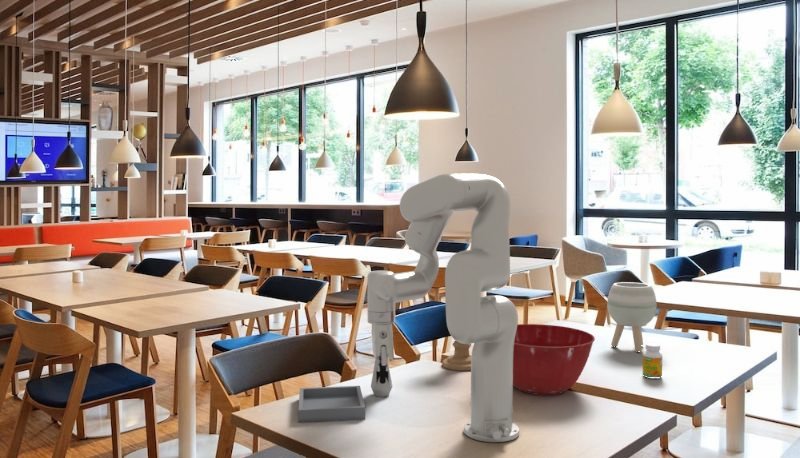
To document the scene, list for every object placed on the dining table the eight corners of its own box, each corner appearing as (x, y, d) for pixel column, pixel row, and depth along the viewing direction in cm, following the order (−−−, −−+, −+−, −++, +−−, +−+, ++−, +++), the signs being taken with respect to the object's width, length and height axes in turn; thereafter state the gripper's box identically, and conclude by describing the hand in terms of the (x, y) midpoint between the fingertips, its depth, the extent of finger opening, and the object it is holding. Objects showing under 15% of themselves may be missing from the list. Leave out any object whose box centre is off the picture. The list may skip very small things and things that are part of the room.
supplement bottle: (641, 378, 200) (641, 345, 200) (643, 373, 205) (644, 341, 205) (660, 380, 198) (661, 347, 197) (663, 376, 203) (663, 343, 202)
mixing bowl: (593, 377, 201) (594, 326, 200) (594, 408, 173) (595, 348, 172) (497, 371, 208) (498, 321, 207) (483, 399, 181) (483, 341, 180)
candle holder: (449, 372, 207) (450, 306, 206) (436, 362, 219) (437, 300, 217) (487, 369, 210) (487, 304, 209) (472, 359, 222) (473, 298, 221)
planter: (596, 346, 240) (597, 283, 239) (631, 341, 247) (632, 280, 246) (629, 356, 226) (631, 289, 224) (666, 351, 233) (667, 286, 231)
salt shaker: (389, 398, 182) (389, 350, 181) (368, 397, 183) (368, 349, 182) (394, 392, 187) (394, 345, 187) (374, 390, 189) (373, 344, 188)
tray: (365, 419, 166) (365, 407, 165) (298, 422, 164) (298, 410, 163) (359, 396, 183) (359, 385, 183) (299, 399, 181) (299, 388, 181)
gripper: (399, 322, 176) (399, 392, 177) (391, 310, 192) (391, 374, 194) (370, 323, 175) (370, 393, 176) (365, 311, 191) (365, 375, 193)
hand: (381, 382), depth 185 cm, fingers closed on salt shaker, 3 cm apart
